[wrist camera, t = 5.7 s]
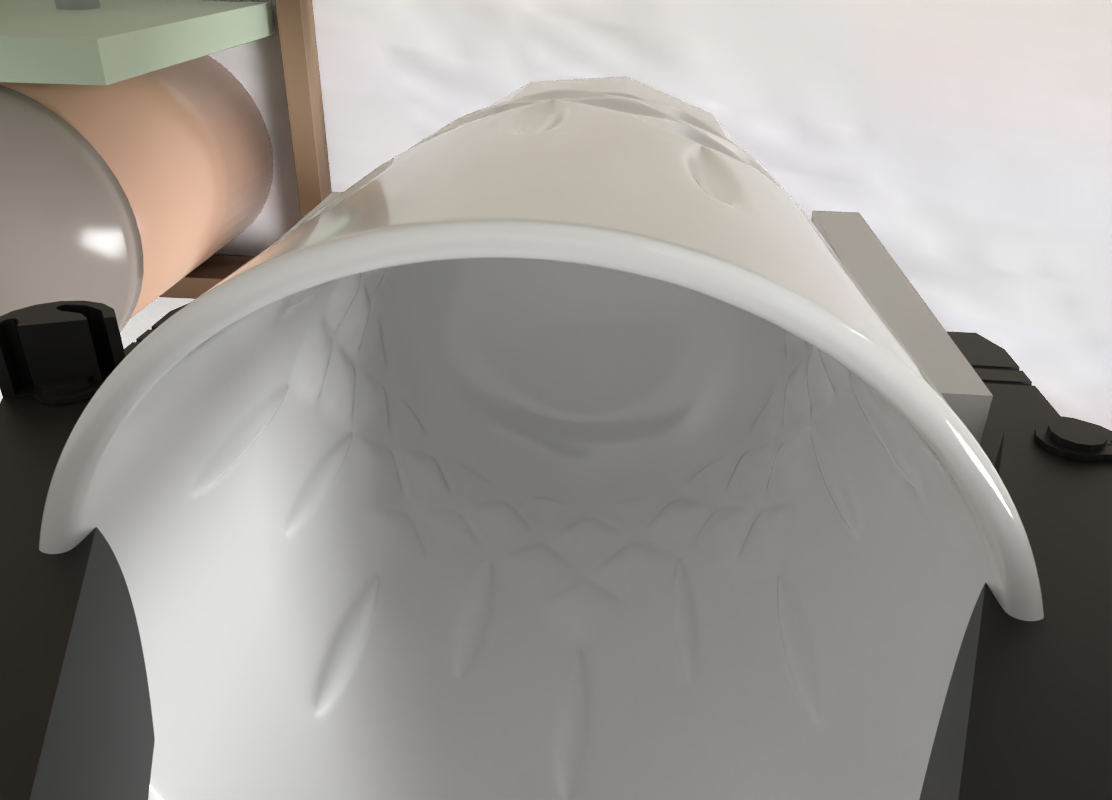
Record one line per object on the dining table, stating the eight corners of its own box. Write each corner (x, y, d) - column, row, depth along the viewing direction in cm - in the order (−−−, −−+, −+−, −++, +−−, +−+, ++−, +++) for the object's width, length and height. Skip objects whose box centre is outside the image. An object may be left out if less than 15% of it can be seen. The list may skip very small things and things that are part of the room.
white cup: (406, 463, 18) (183, 968, 9) (334, 50, 15) (-139, 247, 6) (804, 458, 17) (966, 1009, 9) (834, 17, 14) (1168, 193, 5)
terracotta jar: (41, 30, 31) (-222, 76, 22) (261, 35, 31) (90, 86, 21) (92, 246, 35) (-114, 368, 25) (289, 255, 34) (155, 382, 25)
